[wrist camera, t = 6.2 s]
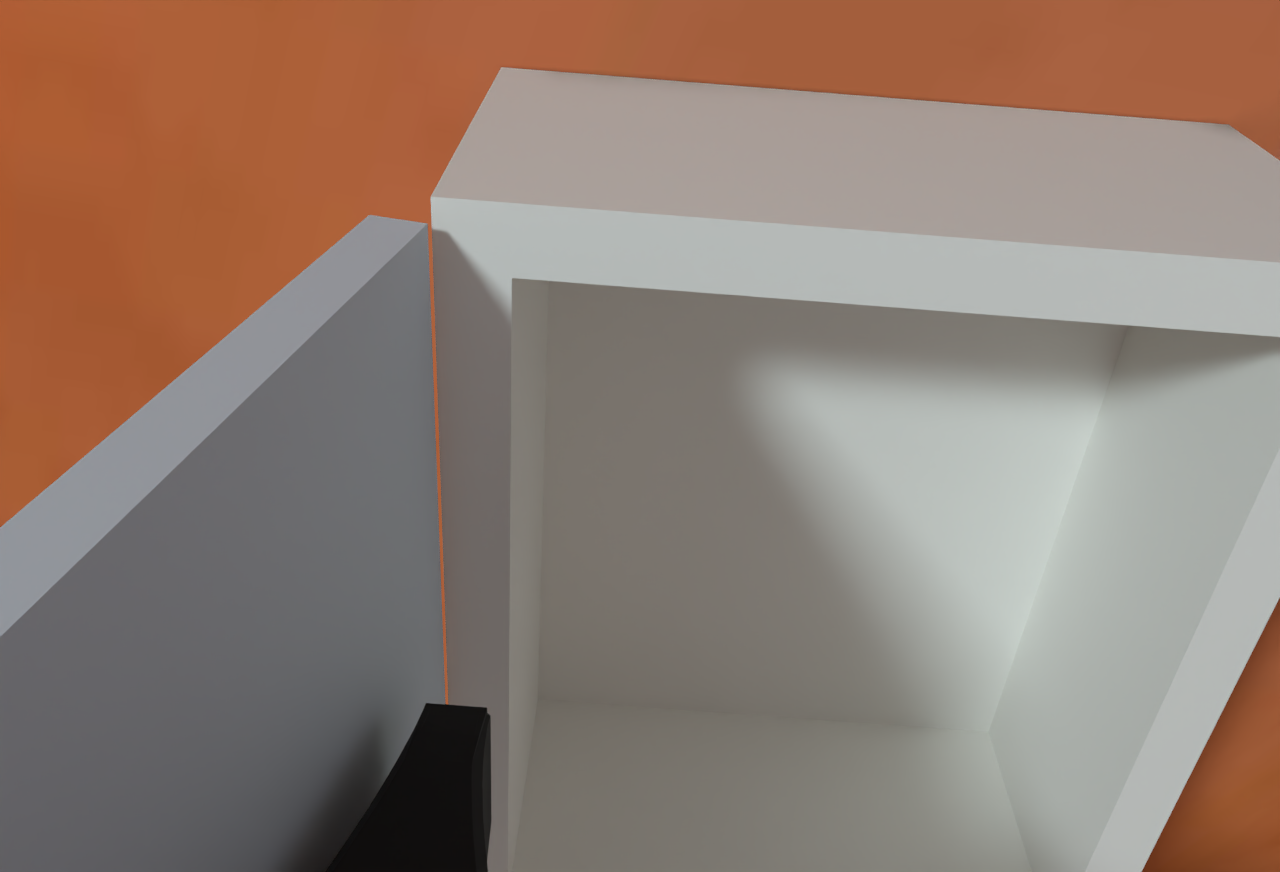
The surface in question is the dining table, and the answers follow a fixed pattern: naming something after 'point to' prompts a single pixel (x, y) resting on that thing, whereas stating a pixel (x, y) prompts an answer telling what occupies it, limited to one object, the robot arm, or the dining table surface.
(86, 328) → the dining table surface
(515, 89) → the carton
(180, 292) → the dining table surface
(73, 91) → the dining table surface
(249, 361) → the carton flap
